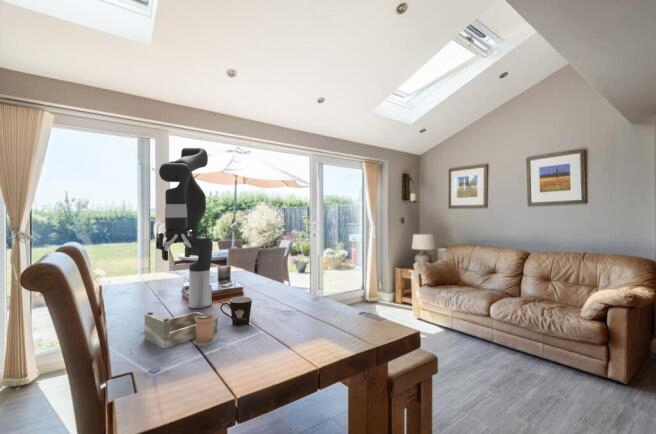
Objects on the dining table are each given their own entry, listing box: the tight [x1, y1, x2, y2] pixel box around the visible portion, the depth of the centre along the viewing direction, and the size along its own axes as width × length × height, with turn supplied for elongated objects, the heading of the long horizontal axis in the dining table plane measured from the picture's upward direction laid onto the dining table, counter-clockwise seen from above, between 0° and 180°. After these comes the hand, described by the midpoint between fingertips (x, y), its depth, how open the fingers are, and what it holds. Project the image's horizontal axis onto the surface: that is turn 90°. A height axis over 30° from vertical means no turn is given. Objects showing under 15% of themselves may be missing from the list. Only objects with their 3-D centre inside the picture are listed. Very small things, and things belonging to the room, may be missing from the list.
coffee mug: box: [220, 296, 253, 327], centre depth 125 cm, size 12×9×10 cm
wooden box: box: [144, 311, 219, 349], centre depth 112 cm, size 20×14×10 cm
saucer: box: [192, 334, 220, 346], centre depth 107 cm, size 8×8×1 cm
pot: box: [195, 313, 215, 343], centre depth 107 cm, size 6×6×8 cm
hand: (176, 258), depth 118 cm, fingers open, 8 cm apart
